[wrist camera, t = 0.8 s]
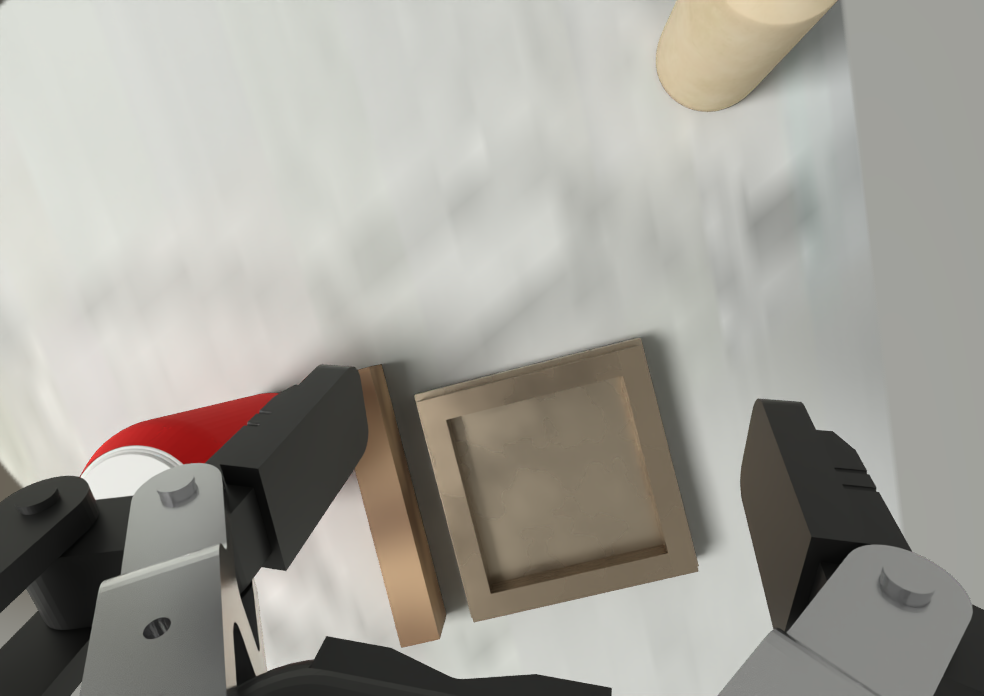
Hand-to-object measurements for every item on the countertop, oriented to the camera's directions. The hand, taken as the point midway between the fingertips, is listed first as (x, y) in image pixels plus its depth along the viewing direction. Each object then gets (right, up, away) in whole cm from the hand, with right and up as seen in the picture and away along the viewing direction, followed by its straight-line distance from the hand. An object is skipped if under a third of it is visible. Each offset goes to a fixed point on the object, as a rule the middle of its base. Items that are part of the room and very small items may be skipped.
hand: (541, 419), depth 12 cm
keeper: (+2, -5, +19) cm, 20 cm away
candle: (+10, +16, +18) cm, 26 cm away
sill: (-6, -6, +19) cm, 21 cm away
